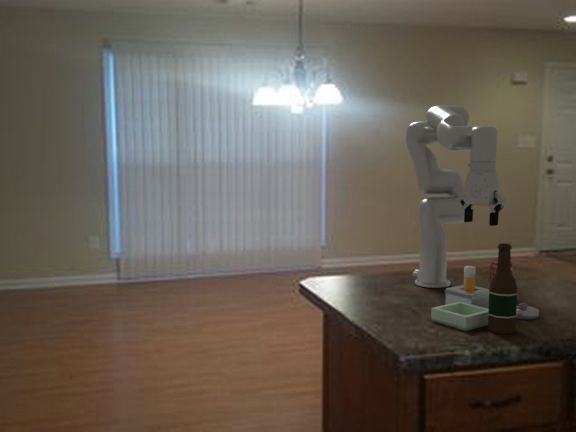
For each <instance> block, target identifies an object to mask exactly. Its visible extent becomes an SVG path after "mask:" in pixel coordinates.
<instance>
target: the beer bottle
mask: <svg viewBox="0 0 576 432" xmlns="http://www.w3.org/2000/svg"><path fill="white" fill-rule="evenodd" d="M497 249H498V254H497V255H498V256H497V260H498V263H497V270H496V273H495V274H494V276H493V277H492V279H491V282H490V281H489V288H488V289H489V310H488V325H487V330H488V331H489V332H491V333H494V334H499V335H501V334H502V335H512V334H515V333H516V330H517V329H516V326H517V319H516V309H517V304H518V286H517V282H516V279H515V277H514V274H513V275H512V274H511V262H512V261H511V250H512V249H513V248H512V244H510V243H498V245H497Z"/></svg>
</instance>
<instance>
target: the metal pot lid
mask: <svg viewBox="0 0 576 432" xmlns="http://www.w3.org/2000/svg"><path fill="white" fill-rule="evenodd" d="M539 315H540V310H539V309H538V308H537V307H534V306H530V305H528V303H526V302H519V303H518V305H517V309H516V320H527V321H532V320H536V319H537V320H538V319H539Z"/></svg>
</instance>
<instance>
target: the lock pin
mask: <svg viewBox="0 0 576 432" xmlns="http://www.w3.org/2000/svg"><path fill="white" fill-rule="evenodd" d="M476 268H477V267H476V266H474V265H473V266H472V265H466V266H465V265H464V267H463V285H464V290H466V291H470V292H471V291H475V286H476Z"/></svg>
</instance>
